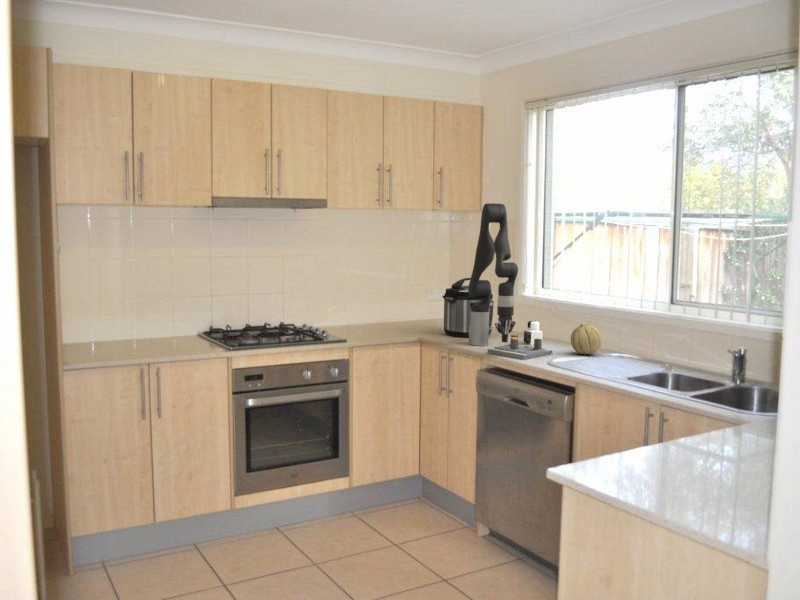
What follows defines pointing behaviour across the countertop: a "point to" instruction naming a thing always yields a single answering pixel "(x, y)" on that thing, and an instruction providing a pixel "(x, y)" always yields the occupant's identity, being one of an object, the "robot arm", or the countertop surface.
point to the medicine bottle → (532, 332)
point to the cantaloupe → (586, 339)
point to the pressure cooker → (461, 309)
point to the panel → (519, 352)
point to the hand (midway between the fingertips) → (504, 342)
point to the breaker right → (537, 344)
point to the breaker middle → (514, 343)
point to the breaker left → (514, 336)
